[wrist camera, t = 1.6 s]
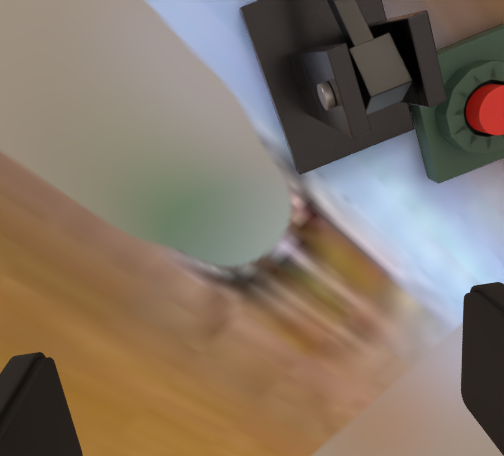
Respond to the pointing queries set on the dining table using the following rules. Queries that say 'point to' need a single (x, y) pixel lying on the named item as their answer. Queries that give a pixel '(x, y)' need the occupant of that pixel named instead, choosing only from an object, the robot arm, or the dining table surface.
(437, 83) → the lever bracket
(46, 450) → the robot arm
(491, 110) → the button
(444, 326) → the dining table surface
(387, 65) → the press lever
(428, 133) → the console
